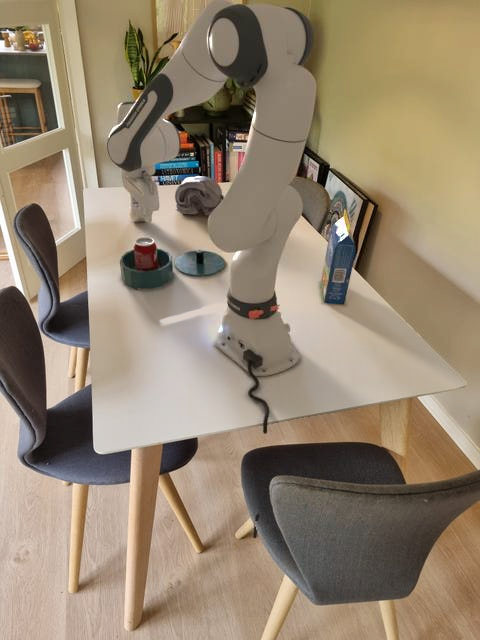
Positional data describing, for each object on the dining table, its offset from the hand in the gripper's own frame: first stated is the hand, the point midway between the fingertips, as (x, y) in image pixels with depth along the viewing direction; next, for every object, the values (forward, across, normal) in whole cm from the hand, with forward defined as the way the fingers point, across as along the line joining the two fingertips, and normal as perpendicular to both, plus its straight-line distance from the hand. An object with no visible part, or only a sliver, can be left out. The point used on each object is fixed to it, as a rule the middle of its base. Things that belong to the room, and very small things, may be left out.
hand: (142, 214), depth 128 cm
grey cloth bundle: (+21, +40, -37) cm, 58 cm away
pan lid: (+20, 0, -18) cm, 27 cm away
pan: (+21, 0, 0) cm, 21 cm away
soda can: (+20, 0, 0) cm, 21 cm away
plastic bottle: (+21, +42, -12) cm, 48 cm away
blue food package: (+20, -33, -47) cm, 61 cm away
